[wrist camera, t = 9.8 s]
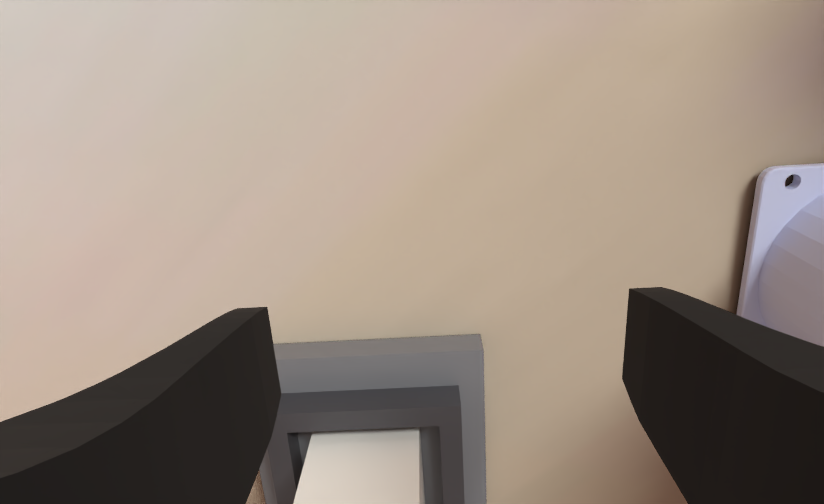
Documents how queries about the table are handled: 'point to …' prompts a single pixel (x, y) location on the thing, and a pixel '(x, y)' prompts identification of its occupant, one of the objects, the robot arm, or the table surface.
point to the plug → (363, 467)
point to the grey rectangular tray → (384, 407)
